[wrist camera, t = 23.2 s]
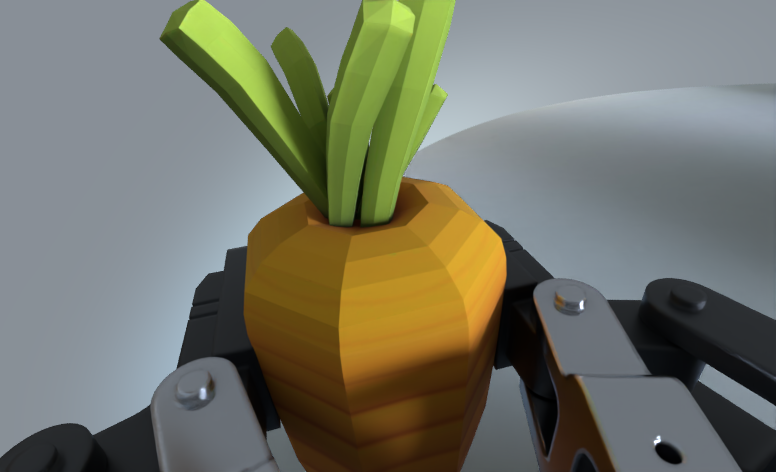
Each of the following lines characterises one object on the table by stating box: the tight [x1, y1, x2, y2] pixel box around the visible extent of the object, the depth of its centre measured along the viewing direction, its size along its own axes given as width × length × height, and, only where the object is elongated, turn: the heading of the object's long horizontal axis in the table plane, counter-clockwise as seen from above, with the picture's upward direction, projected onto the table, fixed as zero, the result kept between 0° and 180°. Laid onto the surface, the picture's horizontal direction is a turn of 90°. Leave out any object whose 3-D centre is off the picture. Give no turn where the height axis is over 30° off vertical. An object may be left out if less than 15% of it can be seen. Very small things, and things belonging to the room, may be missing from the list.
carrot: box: [160, 0, 507, 472], centre depth 9 cm, size 5×5×15 cm
